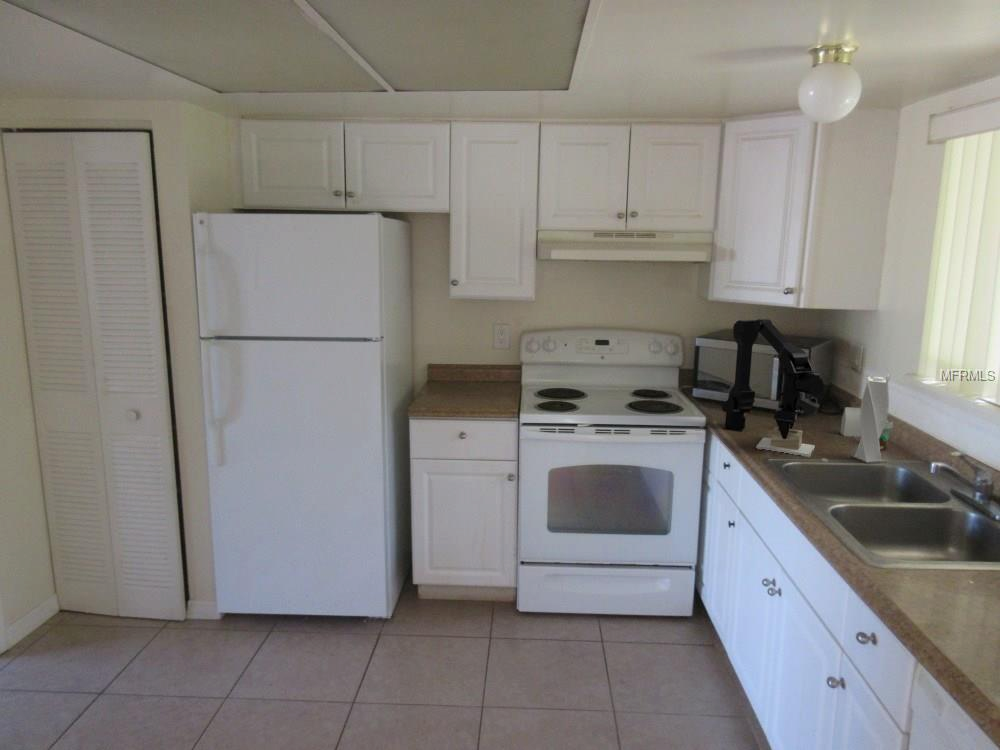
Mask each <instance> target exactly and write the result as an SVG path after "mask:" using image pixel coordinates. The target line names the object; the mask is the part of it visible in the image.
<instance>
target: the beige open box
mask: <svg viewBox="0 0 1000 750" xmlns="http://www.w3.org/2000/svg"><path fill="white" fill-rule="evenodd" d="M803 431H804V430H800V429H794V428H793V429H789V432H788V435H787V438H786V439H783V438H782V436H781V433H780V430H779V427H778V426H775V427H774V428H773V429H772V430H771V437H770V438H771V445H770V446H776V447H782V448H788V449H794V450H798V449H799V448H800V446H801V443H802V442H803ZM790 432H792V433H790Z"/></svg>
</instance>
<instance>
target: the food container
mask: <svg viewBox="0 0 1000 750" xmlns="http://www.w3.org/2000/svg"><path fill="white" fill-rule="evenodd" d="M893 428H894V422H893V420H892V419H891V418H889V417H887V420H886V423H885V426H884V429H883V431H882V434H881V436H880V438H879V443H880V452H883V451H886V450H887V447H888V444H889V439H890V434H891V431H892V430H891V429H893Z"/></svg>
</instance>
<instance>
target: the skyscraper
mask: <svg viewBox="0 0 1000 750" xmlns="http://www.w3.org/2000/svg"><path fill="white" fill-rule="evenodd" d="M890 377H891V376H890V374H886V379H885V378H884V377H880V376H873V378H871V376H868V377H867V378H866V384H865V388H864V391H863V395H862V399H861V403H860V408H861V409H860V430H861V437H860V441H859V443H858V447H856V448H857V449H856V451H855V454H852V455H850V457H851V456H852V457H851V458H853V457H854V458H853V459H855V458H857V459H856V460H858V459H859V460H858V461H860V460H862V461H864V462H865V463H864V462H863V463H864V464H885V463H884V462H887V460H885V459H883V458H882V456H881V455H882V454H881V452H882V451H880V443H879V438H880V436H881V434H882V431H883V429H884V426H885V423H886V420H887V418H888V414H889V407H890V395H889V382H890ZM862 461H861V462H862ZM887 463H888V462H887Z"/></svg>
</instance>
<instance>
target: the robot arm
mask: <svg viewBox="0 0 1000 750" xmlns="http://www.w3.org/2000/svg"><path fill="white" fill-rule="evenodd" d="M732 330H733V339H734V341H735V343H736V344H737V350H736V363H735V375H734V377H735V378H734V383H733V384H734V385H733V386H732V388H731V389H730V390H729V393H728V399H727V400H725V402H724V403H723V404H721V410H722V412H724V413H725V422H724V426H723V429H724V430H730V431H731V430H732V431H738V432H742V431H744V430H745V428H747V419H748V417H747V416H746V414H748V413H750V412H751V409H752V407H753V406H754V403H756V402H755V401H756V400H755V395H756V392H755V390H752V388H751V387H750V386H751V385H750V383H751V381H750V380H751V371H752V370H751V369H752V357H753V355H752V354H753V347H754V344H755V343H756V342H757V340H758V338H759V333H760V334H761V336H762V337H763V339H764V340H766V341H767V343H768V344H769V345H770V346H771V347H772V348H773V349H774V351H775V352H777V353H776V354H777V357H778V358H777V359H778V361H779V362H780V364H781V366H782V367H783V368H781V369H780V370H778V373H779V374H782V375H783V377H782V379H783V380H782V386H781V391H780V404H779V405H778V409H776V411H774V412H773V413H774V414H773V415H774V416H773V418H774V420H775V422H776V425H777V427H779V430H780V433H781V436H782V438H783V439H786V438H787V435H788V432H789V429H794V425H795V423H796V421H797V418H798V417H799V416H800V415H802V413H803V411H804V412H805V413H807V414H809V415H810V416H815V415H816V413H817V411H818V409H819V408H820V406H821V405H820V403H818V399H817V398H816V397H817V396H820V394H822V393H823V390H824V389H825V384H824V380H823V379H822V378H821V377H820V376H821V374H820V373H815V371H814V369H813V366H812V363H811V360H810V359H809V354H808V353H807V352H806V351H804V350H803V349H802V348H801V347H799V346H796V345H794V344H792V343H791V342H790V341H789V340H788V339H787V338H786V337H785V335H783V334H782V333H781V332H780V330H779V329H778V328H777V327H776V326H775V325H774V324H773V321H772V320H771V319H768V318H762V319H761V318H759V319H756V320H755V319H748V320H747V319H745V320H743V319H741V320H737V321H736V322H735V323H733V329H732ZM804 394H807V395H811V396H812V397H811V398H805V397H803V396H804ZM814 396H815V397H814Z"/></svg>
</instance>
